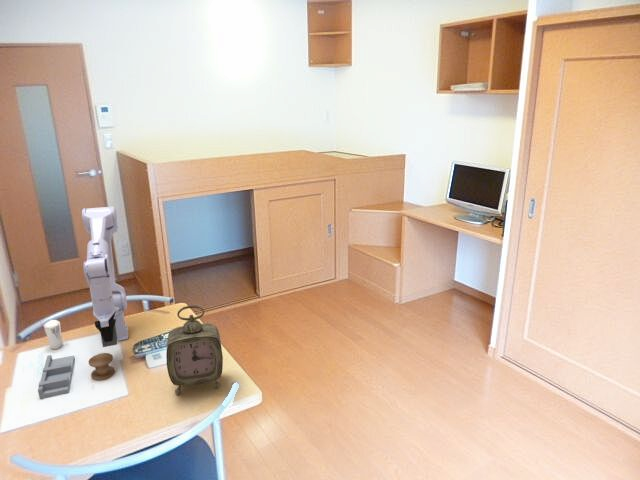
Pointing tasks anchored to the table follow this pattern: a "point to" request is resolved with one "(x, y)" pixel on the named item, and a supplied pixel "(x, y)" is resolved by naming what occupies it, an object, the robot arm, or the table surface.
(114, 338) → the dark grey block
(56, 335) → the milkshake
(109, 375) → the spool
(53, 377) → the grey slotted tray
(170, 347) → the tabletop clock
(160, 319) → the table surface
